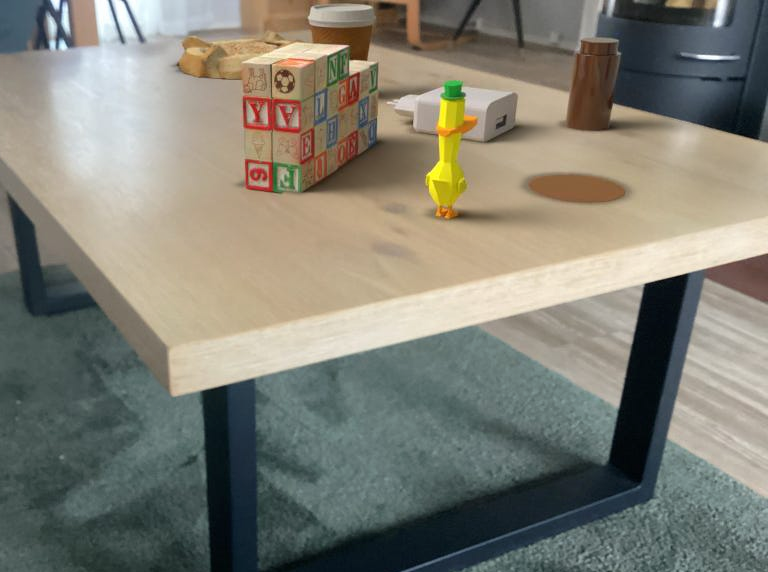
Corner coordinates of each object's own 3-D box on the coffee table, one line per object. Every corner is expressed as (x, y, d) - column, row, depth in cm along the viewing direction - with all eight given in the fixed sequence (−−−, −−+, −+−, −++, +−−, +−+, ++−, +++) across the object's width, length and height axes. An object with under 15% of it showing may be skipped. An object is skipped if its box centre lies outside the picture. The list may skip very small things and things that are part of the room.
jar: (609, 125, 108) (624, 37, 103) (607, 135, 104) (623, 44, 99) (566, 122, 110) (578, 35, 105) (563, 131, 105) (575, 42, 100)
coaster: (626, 183, 87) (627, 179, 86) (621, 210, 79) (622, 206, 79) (534, 174, 90) (535, 170, 89) (521, 200, 82) (522, 196, 82)
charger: (406, 115, 114) (514, 130, 106) (371, 128, 108) (483, 145, 100) (409, 77, 112) (519, 90, 104) (372, 89, 105) (487, 104, 98)
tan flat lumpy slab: (323, 56, 156) (323, 26, 153) (305, 81, 135) (305, 47, 133) (195, 53, 159) (193, 24, 157) (158, 77, 138) (156, 45, 136)
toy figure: (448, 204, 81) (459, 72, 75) (482, 211, 79) (496, 76, 74) (411, 223, 77) (420, 84, 71) (447, 232, 75) (459, 89, 69)
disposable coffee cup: (300, 101, 122) (300, 10, 116) (315, 88, 130) (315, 2, 124) (367, 104, 120) (370, 12, 114) (377, 91, 128) (381, 4, 122)
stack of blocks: (327, 139, 103) (329, 29, 97) (377, 144, 101) (382, 32, 95) (244, 188, 86) (240, 59, 80) (301, 196, 84) (301, 64, 78)
